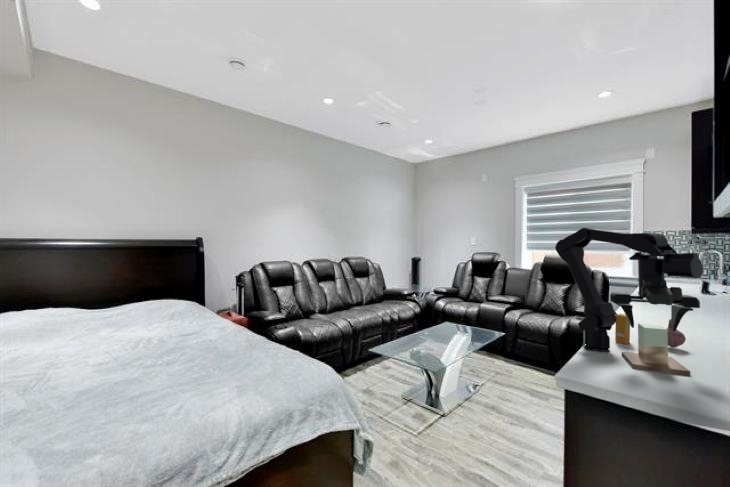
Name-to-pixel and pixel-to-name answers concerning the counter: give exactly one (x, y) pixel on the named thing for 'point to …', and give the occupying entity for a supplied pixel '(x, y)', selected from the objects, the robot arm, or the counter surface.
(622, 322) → the supplement box
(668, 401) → the counter surface
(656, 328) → the sage green brick
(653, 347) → the beech brick
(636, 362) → the walnut baseboard
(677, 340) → the vegetable
